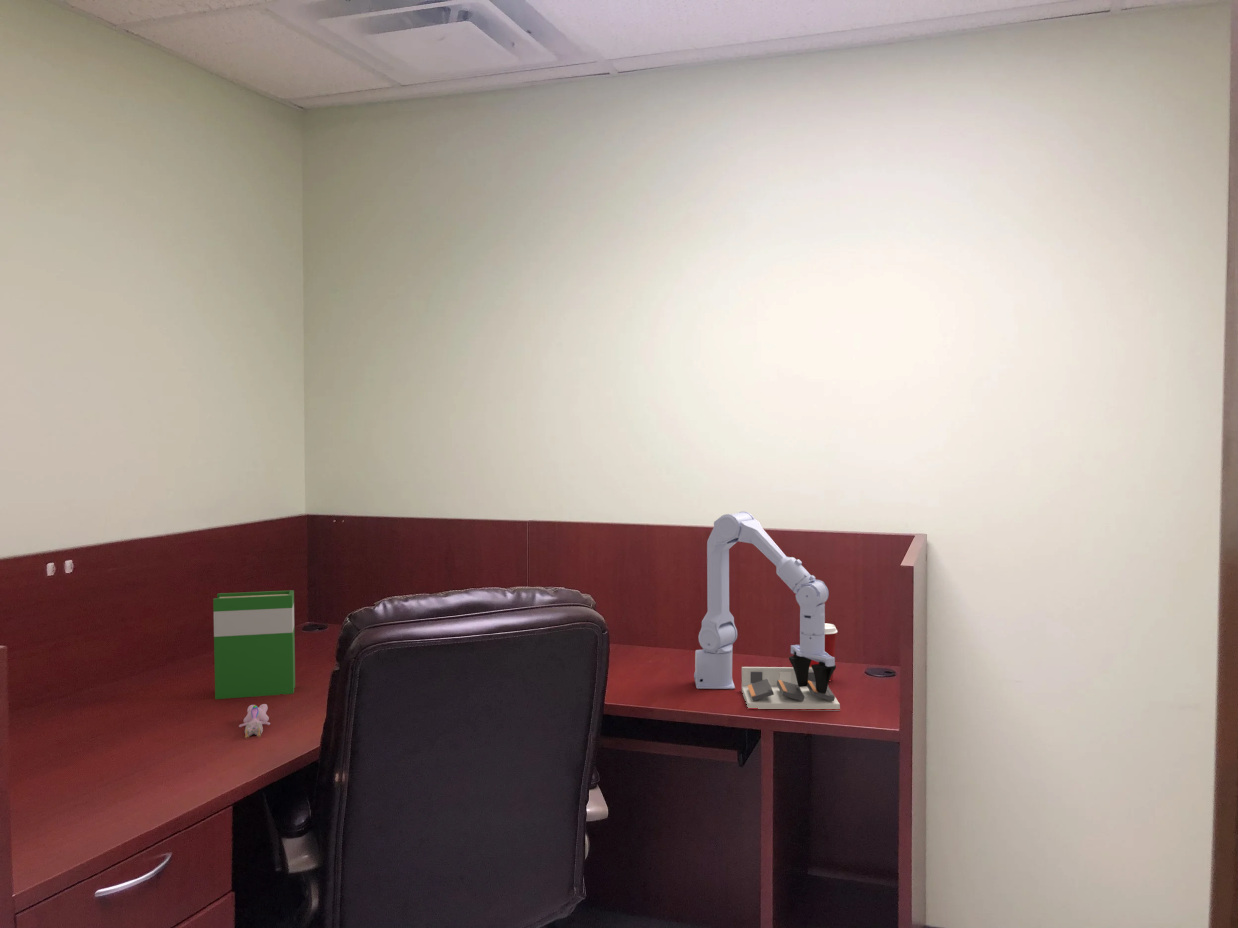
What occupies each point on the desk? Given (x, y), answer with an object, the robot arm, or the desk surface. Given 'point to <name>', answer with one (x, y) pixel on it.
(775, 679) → the switch unit
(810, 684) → the switch
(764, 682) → the switch
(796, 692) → the switch
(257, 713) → the pink and white figure
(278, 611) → the hardback book
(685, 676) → the desk surface
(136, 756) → the desk surface
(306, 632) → the desk surface
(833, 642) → the paper cup
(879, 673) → the desk surface
